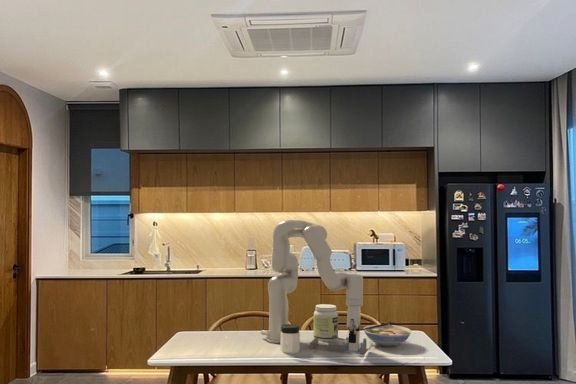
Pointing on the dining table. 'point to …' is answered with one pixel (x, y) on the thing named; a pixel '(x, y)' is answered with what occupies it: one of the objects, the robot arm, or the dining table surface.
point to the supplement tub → (325, 322)
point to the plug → (355, 345)
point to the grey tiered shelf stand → (337, 346)
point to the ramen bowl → (387, 334)
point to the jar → (290, 338)
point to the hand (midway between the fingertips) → (354, 340)
